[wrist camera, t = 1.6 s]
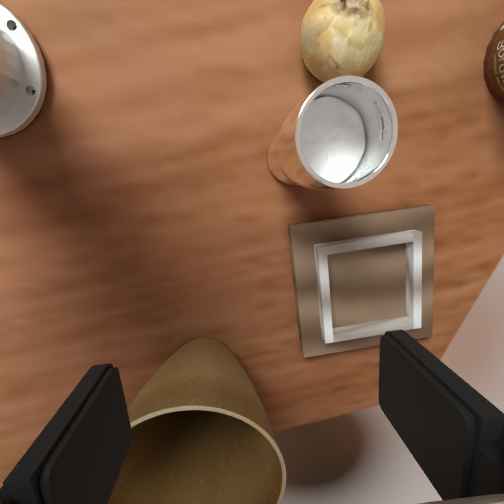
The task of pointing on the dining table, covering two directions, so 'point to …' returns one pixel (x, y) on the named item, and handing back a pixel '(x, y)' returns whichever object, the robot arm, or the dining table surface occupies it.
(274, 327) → the dining table surface
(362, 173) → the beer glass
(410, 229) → the holder board
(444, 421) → the robot arm
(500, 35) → the food container
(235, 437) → the plant pot
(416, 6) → the dining table surface
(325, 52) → the onion
